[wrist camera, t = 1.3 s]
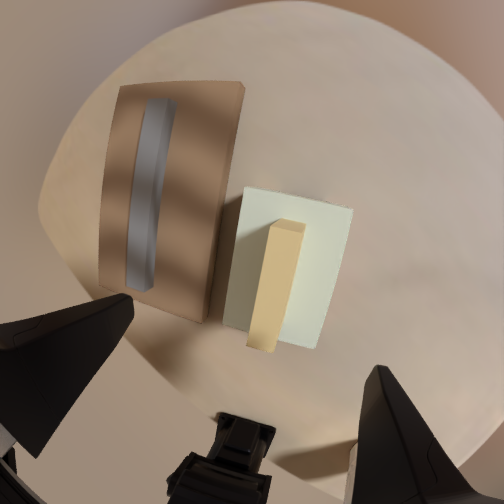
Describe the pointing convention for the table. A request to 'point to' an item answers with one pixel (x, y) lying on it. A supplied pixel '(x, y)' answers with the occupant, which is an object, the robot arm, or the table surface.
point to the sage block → (284, 267)
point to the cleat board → (167, 191)
